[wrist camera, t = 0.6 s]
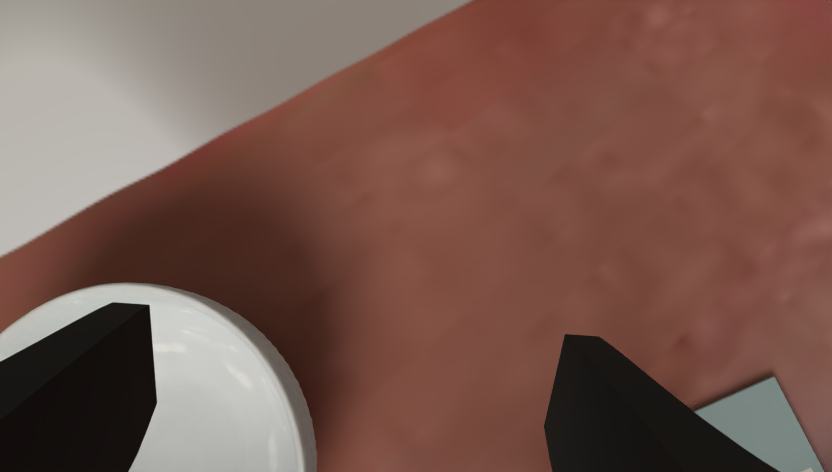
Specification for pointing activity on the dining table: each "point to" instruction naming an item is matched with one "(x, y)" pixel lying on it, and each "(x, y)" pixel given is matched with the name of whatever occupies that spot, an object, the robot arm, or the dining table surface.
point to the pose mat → (763, 426)
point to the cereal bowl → (198, 382)
